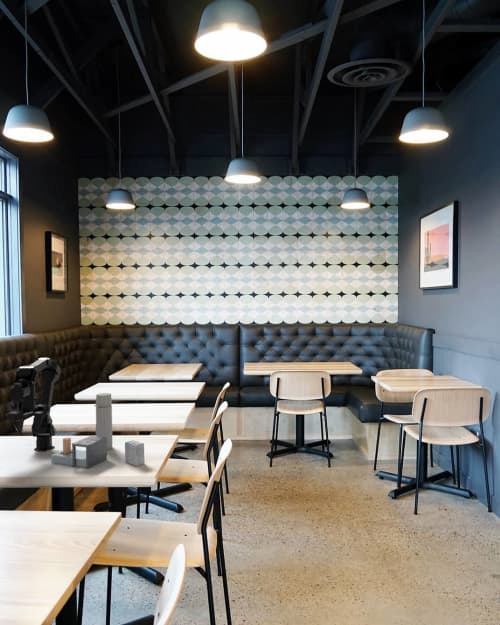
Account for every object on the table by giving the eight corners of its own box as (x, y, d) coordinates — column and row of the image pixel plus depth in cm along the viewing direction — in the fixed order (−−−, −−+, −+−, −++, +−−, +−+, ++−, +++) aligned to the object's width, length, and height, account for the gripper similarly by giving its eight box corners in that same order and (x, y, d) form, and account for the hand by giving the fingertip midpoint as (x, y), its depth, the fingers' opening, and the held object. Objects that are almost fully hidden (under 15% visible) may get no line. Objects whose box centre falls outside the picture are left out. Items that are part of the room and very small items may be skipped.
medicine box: (144, 464, 205) (144, 443, 205) (135, 466, 201) (135, 445, 201) (134, 459, 210) (133, 439, 210) (124, 462, 207) (124, 442, 207)
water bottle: (116, 447, 228) (115, 393, 228) (103, 451, 222) (102, 396, 221) (103, 444, 233) (102, 391, 232) (89, 448, 226) (88, 394, 226)
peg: (66, 458, 213) (66, 437, 213) (72, 459, 212) (72, 438, 212) (61, 460, 210) (61, 439, 210) (67, 461, 209) (67, 440, 209)
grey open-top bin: (91, 457, 214) (91, 435, 213) (107, 459, 211) (106, 437, 211) (72, 466, 203) (72, 443, 202) (88, 468, 200) (87, 445, 199)
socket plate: (67, 455, 217) (67, 448, 217) (103, 459, 210) (103, 452, 210) (51, 462, 208) (51, 455, 208) (87, 467, 201) (87, 460, 201)
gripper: (30, 391, 222) (30, 425, 222) (-5, 398, 204) (-4, 436, 205) (49, 392, 218) (50, 427, 218) (15, 400, 200) (16, 438, 201)
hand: (28, 432), depth 210 cm, fingers open, 9 cm apart
